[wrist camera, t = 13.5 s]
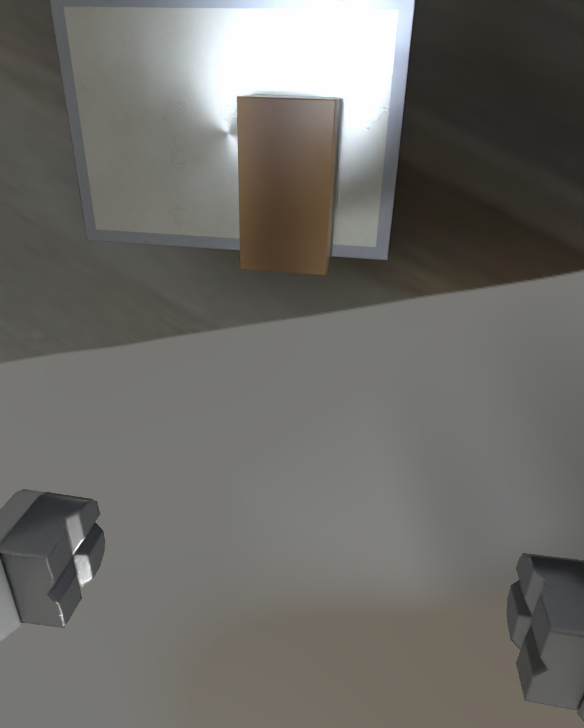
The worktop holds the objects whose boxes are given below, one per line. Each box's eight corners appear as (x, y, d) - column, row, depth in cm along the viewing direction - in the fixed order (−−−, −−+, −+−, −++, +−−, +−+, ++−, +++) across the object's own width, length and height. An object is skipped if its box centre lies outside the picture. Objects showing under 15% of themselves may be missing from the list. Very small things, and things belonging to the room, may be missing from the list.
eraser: (341, 97, 30) (335, 99, 27) (331, 255, 34) (325, 275, 31) (253, 94, 31) (236, 96, 27) (254, 250, 35) (239, 269, 31)
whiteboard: (415, -7, 28) (416, -9, 27) (387, 255, 35) (387, 260, 34) (57, -9, 31) (47, -12, 30) (93, 236, 37) (86, 240, 36)
